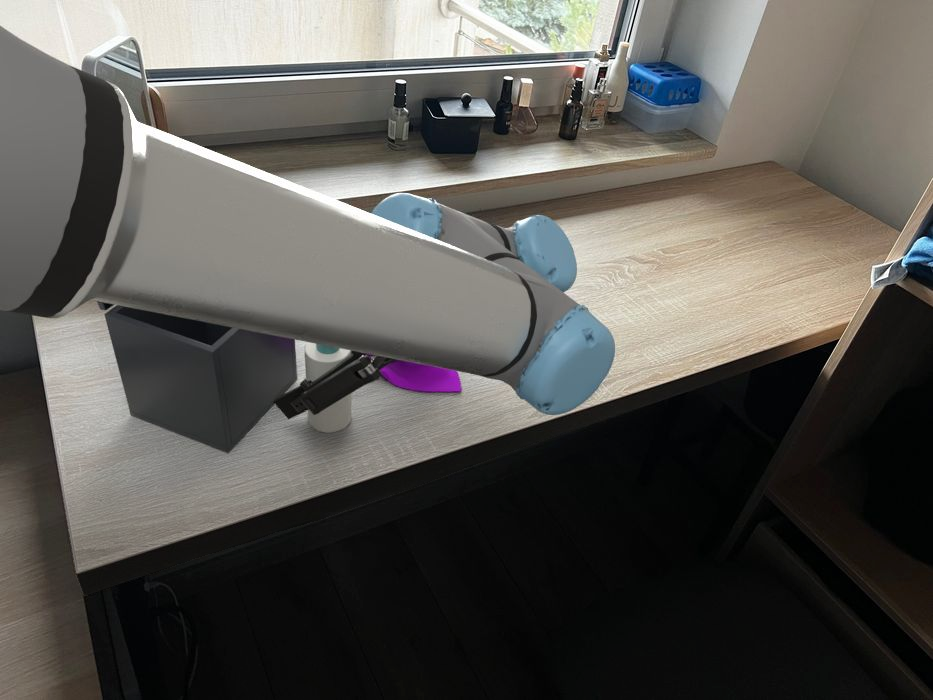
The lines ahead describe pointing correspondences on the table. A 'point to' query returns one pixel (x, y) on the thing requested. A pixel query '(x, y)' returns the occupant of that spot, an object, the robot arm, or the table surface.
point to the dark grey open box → (199, 373)
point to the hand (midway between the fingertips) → (306, 382)
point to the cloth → (421, 377)
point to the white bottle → (317, 365)
